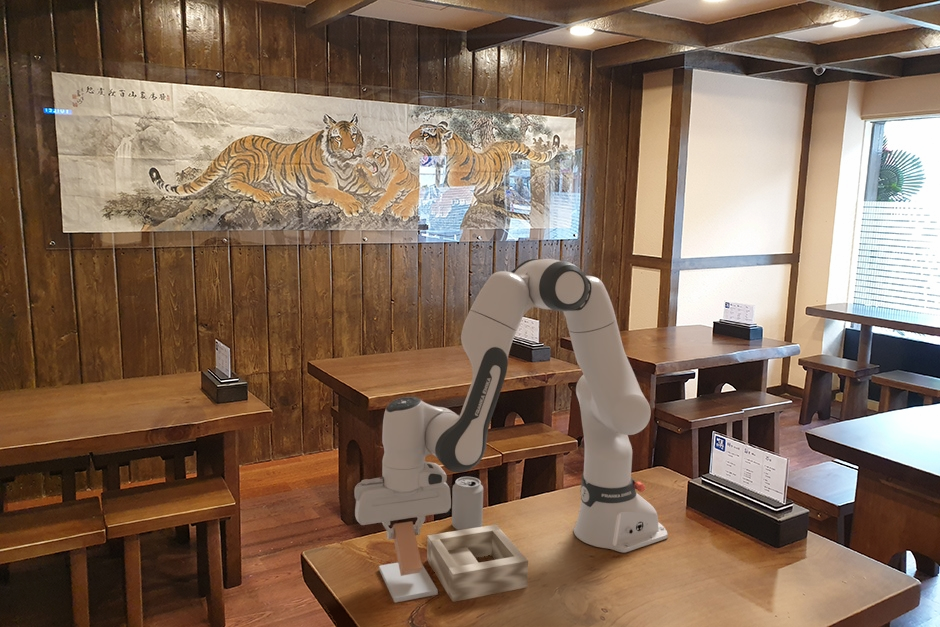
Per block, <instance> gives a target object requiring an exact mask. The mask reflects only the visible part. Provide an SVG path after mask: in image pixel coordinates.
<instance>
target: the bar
mask: <svg viewBox="0 0 940 627" xmlns="http://www.w3.org/2000/svg"><path fill="white" fill-rule="evenodd" d="M413 525H414V522H413V520H412V521H405V522H404V521H403V522H398V523H393V525H392V528H393V529H394V530H395V539H393V542H394V548H395V553H396V558H397V563H398V564H399V569H400V574H401V576H404V575H409V574H415V573H420V571H421V569H422V564H423V563H422V559H421V556H420V555H421V554H420V550H419V546H418V540H417V537H416V536H417V535H415V531H414V526H413ZM421 563H422V564H421Z"/></svg>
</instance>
